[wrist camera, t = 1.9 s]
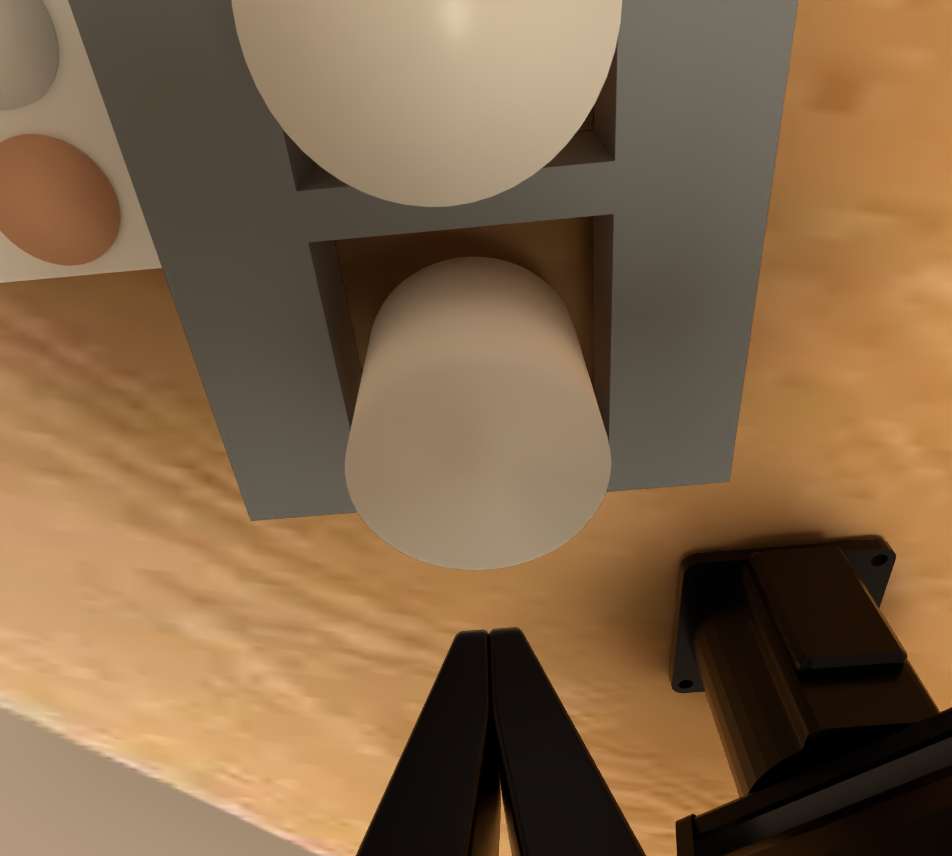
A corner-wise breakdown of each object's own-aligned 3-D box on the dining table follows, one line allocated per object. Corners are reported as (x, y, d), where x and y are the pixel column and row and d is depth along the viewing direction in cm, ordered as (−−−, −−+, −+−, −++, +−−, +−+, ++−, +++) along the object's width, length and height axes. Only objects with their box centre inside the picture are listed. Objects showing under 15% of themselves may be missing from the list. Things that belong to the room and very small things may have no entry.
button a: (577, 431, 17) (608, 560, 14) (386, 447, 17) (369, 579, 14) (575, 246, 15) (614, 346, 11) (351, 267, 15) (319, 372, 11)
